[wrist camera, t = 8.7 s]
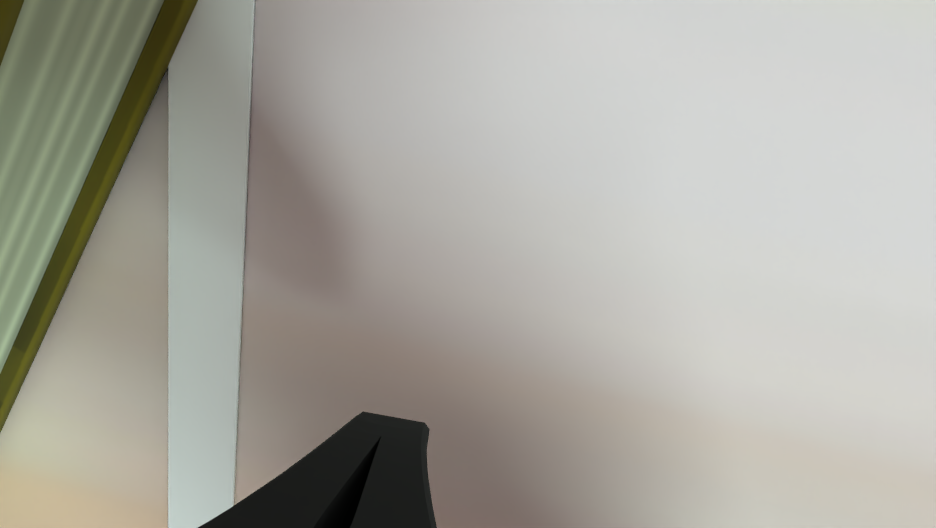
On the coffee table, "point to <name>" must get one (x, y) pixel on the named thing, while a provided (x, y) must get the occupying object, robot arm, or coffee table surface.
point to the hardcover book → (66, 144)
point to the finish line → (206, 254)
